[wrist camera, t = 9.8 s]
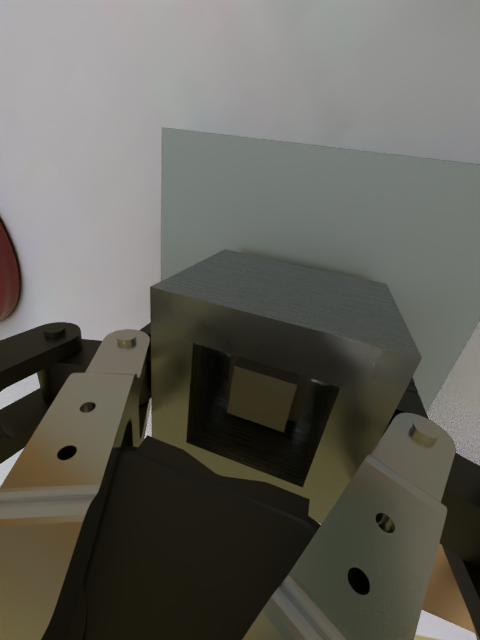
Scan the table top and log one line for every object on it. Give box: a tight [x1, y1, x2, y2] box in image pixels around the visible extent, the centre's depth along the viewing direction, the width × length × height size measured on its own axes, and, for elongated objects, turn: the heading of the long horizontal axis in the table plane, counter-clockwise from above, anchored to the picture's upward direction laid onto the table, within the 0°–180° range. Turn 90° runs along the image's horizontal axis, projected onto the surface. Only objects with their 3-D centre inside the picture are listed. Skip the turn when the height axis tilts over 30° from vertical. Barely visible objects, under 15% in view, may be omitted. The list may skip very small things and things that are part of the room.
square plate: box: [161, 128, 480, 432], centre depth 12 cm, size 14×14×8 cm
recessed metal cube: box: [150, 249, 422, 524], centre depth 10 cm, size 6×6×5 cm
